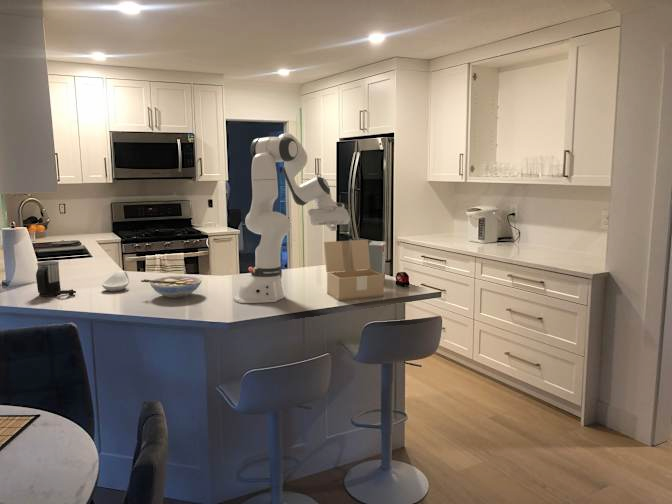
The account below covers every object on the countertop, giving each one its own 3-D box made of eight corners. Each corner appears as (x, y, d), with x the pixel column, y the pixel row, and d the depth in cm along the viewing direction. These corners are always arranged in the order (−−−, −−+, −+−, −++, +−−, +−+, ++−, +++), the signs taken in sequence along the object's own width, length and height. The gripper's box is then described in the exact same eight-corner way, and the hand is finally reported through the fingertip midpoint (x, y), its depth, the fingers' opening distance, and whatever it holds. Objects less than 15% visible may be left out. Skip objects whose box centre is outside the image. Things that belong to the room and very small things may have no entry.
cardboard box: (338, 301, 241) (339, 278, 240) (327, 293, 254) (327, 272, 252) (383, 296, 249) (384, 275, 248) (370, 289, 262) (370, 269, 261)
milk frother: (40, 293, 253) (37, 261, 251) (78, 290, 259) (75, 259, 256) (35, 300, 240) (33, 267, 238) (75, 297, 246) (73, 264, 243)
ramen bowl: (214, 292, 256) (213, 275, 254) (187, 304, 234) (186, 286, 233) (167, 288, 263) (166, 272, 261) (137, 300, 241) (136, 282, 240)
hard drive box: (381, 285, 272) (382, 245, 269) (366, 284, 274) (367, 245, 271) (385, 278, 287) (386, 241, 284) (370, 278, 289) (371, 240, 286)
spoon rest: (126, 293, 255) (125, 277, 254) (99, 294, 253) (98, 278, 252) (135, 282, 278) (135, 268, 277) (111, 282, 276) (110, 268, 275)
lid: (324, 242, 253) (323, 242, 254) (327, 272, 252) (326, 272, 253) (367, 239, 261) (366, 239, 262) (370, 268, 261) (369, 269, 262)
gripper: (308, 205, 272) (315, 226, 264) (346, 204, 279) (354, 225, 272) (305, 213, 276) (312, 235, 269) (343, 212, 284) (350, 233, 277)
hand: (334, 230), depth 271 cm, fingers closed
